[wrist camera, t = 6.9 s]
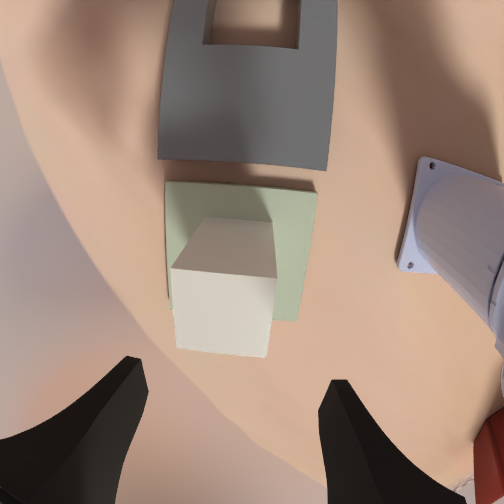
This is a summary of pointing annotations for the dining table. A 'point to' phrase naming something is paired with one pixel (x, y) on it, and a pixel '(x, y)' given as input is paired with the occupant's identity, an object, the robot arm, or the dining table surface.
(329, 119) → the gray square hole board
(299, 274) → the mat
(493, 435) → the plant pot
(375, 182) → the dining table surface
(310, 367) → the dining table surface
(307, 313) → the dining table surface
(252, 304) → the plug
